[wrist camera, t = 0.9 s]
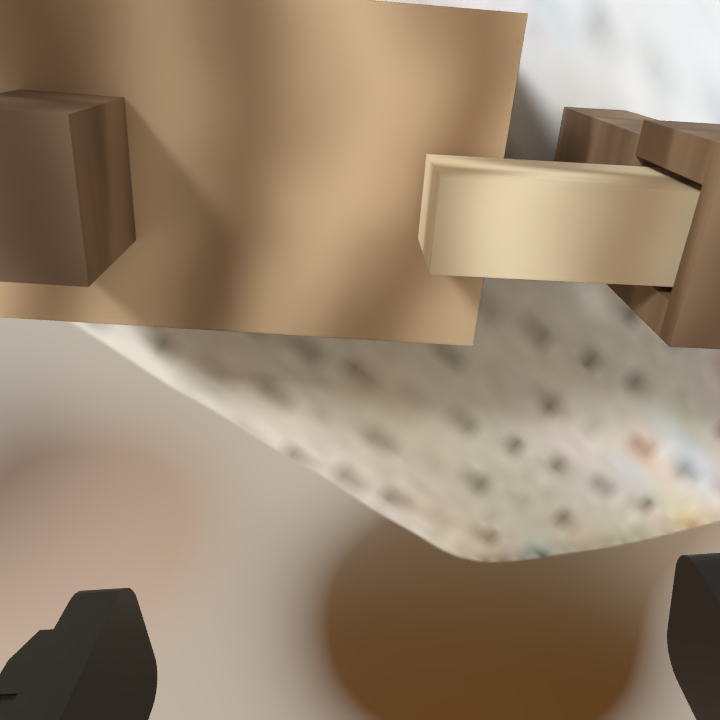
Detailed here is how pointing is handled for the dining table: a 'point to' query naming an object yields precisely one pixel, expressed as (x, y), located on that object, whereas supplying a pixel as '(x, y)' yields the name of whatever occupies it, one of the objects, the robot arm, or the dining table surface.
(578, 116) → the brown wooden blocky piece
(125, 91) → the lid
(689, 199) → the wooden key
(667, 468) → the dining table surface
